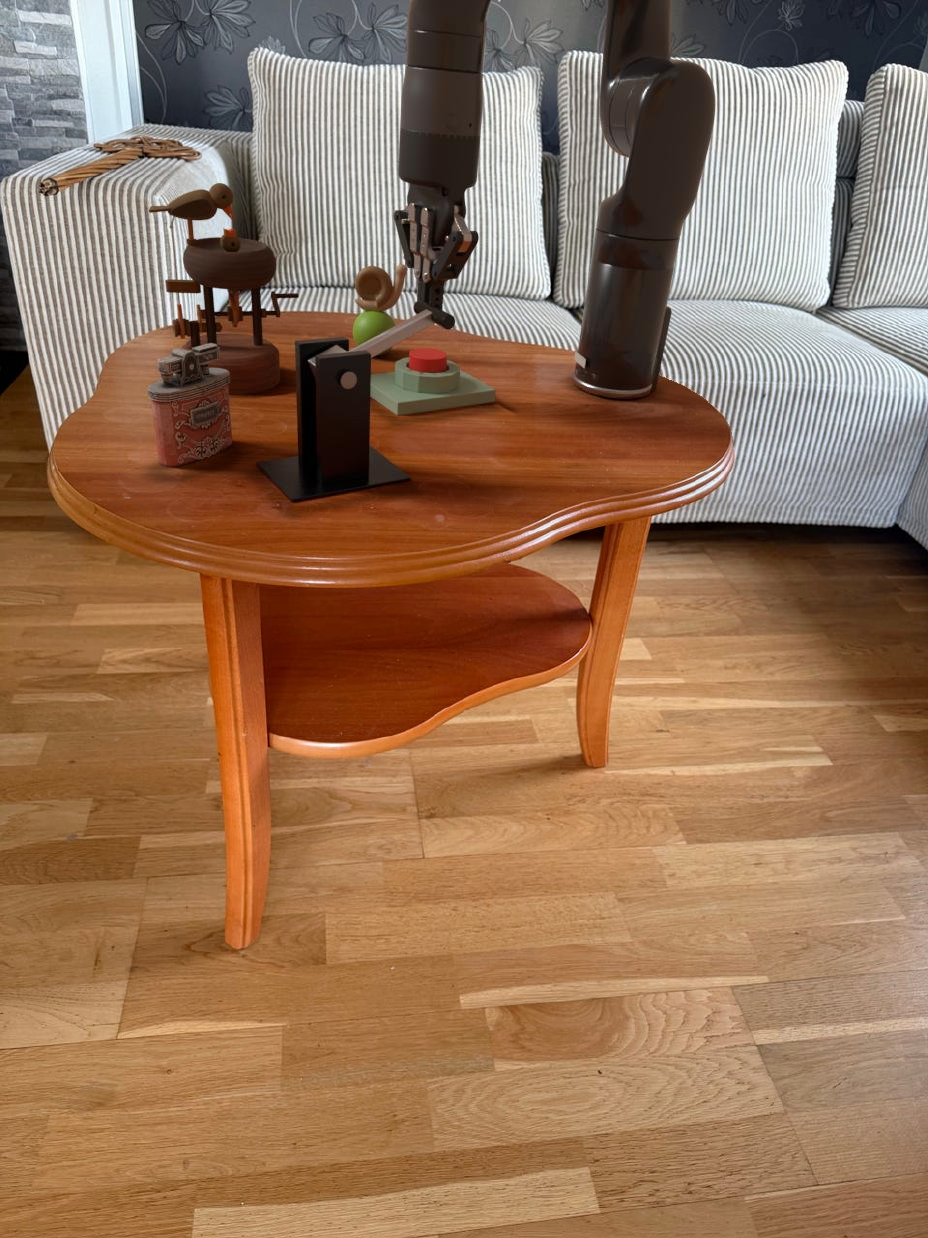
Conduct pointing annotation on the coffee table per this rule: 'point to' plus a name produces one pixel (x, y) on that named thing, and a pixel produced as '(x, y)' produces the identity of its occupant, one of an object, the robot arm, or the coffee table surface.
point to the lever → (399, 331)
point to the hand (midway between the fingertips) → (428, 317)
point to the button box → (428, 389)
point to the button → (427, 360)
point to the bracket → (332, 427)
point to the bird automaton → (233, 270)
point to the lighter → (191, 407)
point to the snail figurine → (376, 301)
